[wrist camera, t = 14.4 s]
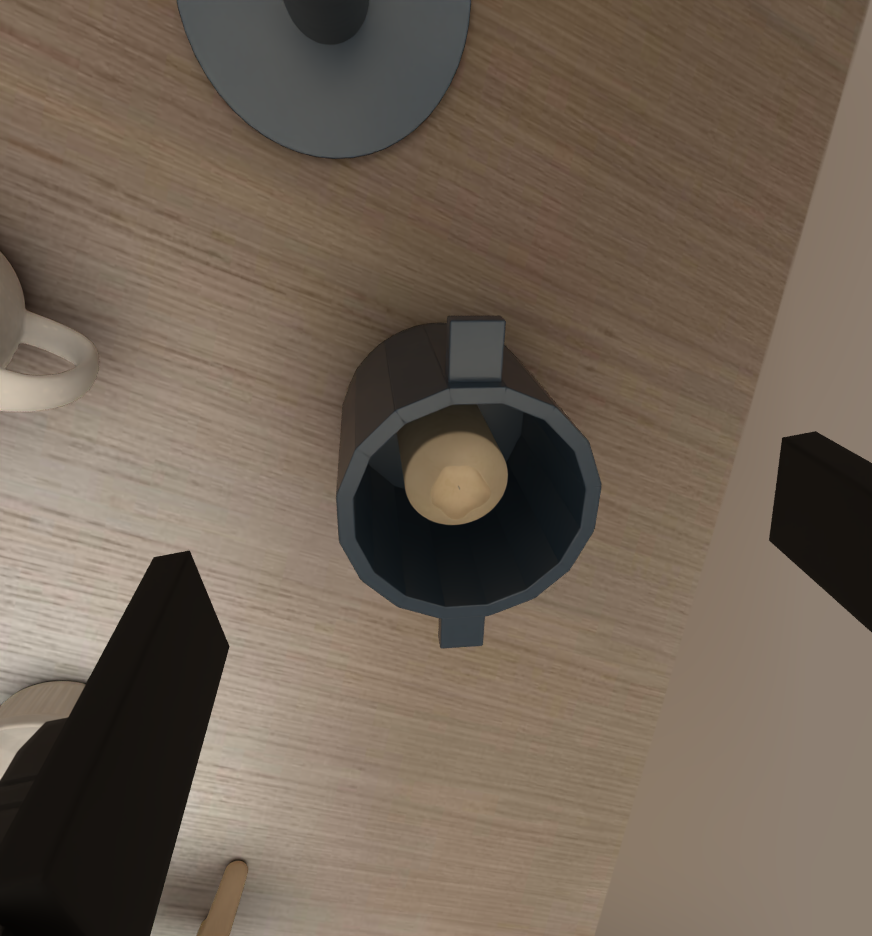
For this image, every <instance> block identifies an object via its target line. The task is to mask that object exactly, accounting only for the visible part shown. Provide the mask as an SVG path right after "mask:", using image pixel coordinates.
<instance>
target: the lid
mask: <svg viewBox="0 0 872 936" xmlns="http://www.w3.org/2000/svg"><path fill="white" fill-rule="evenodd" d="M177 4H178V9H179V13H180V16H181V19H182V23H183V26H184V29H185V33H186V35H187V37H188V40H189V42H190V45H191V47H192V49H193V52H194V54H195V56H196V58H197V60H198V62H199V63H200V65H201V67H202V69H203V71H204V73H205V74H206V76H207V78H208V79H209V80H210V82H211V83H212V85H213V86H214V88H215V89H216V90H217V92H218V93H219V95H220V96H221V97H222V98H223V99H224V100H225V102H226V103H227V104H228V105H229V106H230V107H231V108H232V110H233V111H234V112H235V113H237V114H238V115H239V116H240V117H241V118H242V119H243V120H244V121H245V122H246V123H247V124H248V125H250V126H251V127H253V128H254V129H255V130H257V131H258V132H259V133H261V134H262V135H264V136H265V137H267V138H269V139H270V140H272V141H274V142H276V143H278V144H280V145H281V146H284V147H286V148H289V149H291V150H294V151H296V152H299V153H302V154H307V155H311V156H315V157H321V158H331V159H343V158H355V157H360V156H365V155H369V154H372V153H375V152H378V151H381V150H383V149H386V148H388V147H389V146H391V145H393V144H395V143H397V142H399V141H400V140H402V139H403V138H404V137H406V136H407V135H409V134H410V133H411V132H413V131H414V130H415V129H416V128H417V127H418V126H419V125H420V124H421V123H422V122H423V121H424V120H425V119H426V118H427V117H428V116H429V115H430V114H431V113H432V111H433V110H434V109H435V107H436V106H437V105H438V104H439V102H440V101H441V99H442V97H443V96H444V94H445V92H446V91H447V89H448V87H449V86H450V84H451V82H452V79H453V77H454V75H455V73H456V70H457V68H458V66H459V62H460V59H461V56H462V53H463V50H464V47H465V42H466V37H467V32H468V27H469V18H470V7H471V0H177Z"/></svg>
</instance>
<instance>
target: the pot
mask: <svg viewBox="0 0 872 936" xmlns="http://www.w3.org/2000/svg"><path fill="white" fill-rule="evenodd" d="M505 325H506V321H505V320H504V319H503V318H502V317H501V316H448V317H447V323H430V324H424V325H419V326H415V327H412V328H409V329H406V330H403V331H401V332H399V333H397V334H395V335H393V336H391V337H390V338H388V339H387V340H385V341H384V342H382V343H381V344H380V345H378V346H377V347H376V348H375V349H374V350H373V351H372V352H371V353H370V354H369V355H368V356H367V357H366V358H365V359H364V361H363V362H362V363H361V365H360V366H359V367H358V368H357V370H356V371H355V374H354V376H353V378H352V380H351V383H350V385H349V388H348V391H347V394H346V397H345V400H344V402H343V407H342V421H341V435H340V449H339V463H338V477H337V491H336V503H337V519H338V535H339V543H340V545H341V546H342V548H343V550H344V552H345V553H346V555H347V557H348V559H349V560H350V562H351V564H352V565H353V567H354V569H355V571H356V572H357V574H358V576H359V578H360V579H361V580H362V581H363V582H364V583H365V584H367V585H368V586H369V587H371V588H372V589H374V590H375V591H376V592H378V593H379V594H380V595H382V596H383V597H385V598H386V599H387V600H389V601H390V602H391V603H393V604H394V605H396V606H398V607H399V608H403V609H407V610H410V611H414V612H418V613H422V614H425V615H429V616H433V617H436V618H439V631H438V638H439V643H440V648H456V647H470V646H482V645H483V635H484V621H485V616H489V615H493V614H495V613H498V612H500V611H503V610H506V609H508V608H511V607H513V606H516V605H519V604H521V603H524V602H526V601H529V600H532V599H533V598H536V597H537V596H538V595H539V594H541V593H542V592H543V591H544V590H546V589H547V588H548V587H549V586H550V585H552V584H553V583H554V582H555V581H557V580H558V579H559V578H560V577H562V576H563V575H564V574H565V573H567V572H568V571H569V570H570V568H571V567H572V566H573V564H574V562H575V561H576V559H577V558H578V556H579V554H580V553H581V551H582V549H583V548H584V546H585V545H586V543H587V541H588V540H589V538H590V536H591V535H592V533H593V532H594V529H595V523H596V517H597V511H598V505H599V499H600V492H601V481H600V477H599V474H598V470H597V467H596V464H595V460H594V457H593V453H592V450H591V447H590V443H589V441H588V440H587V439H586V437H585V436H584V435H583V434H582V433H581V432H580V430H579V429H578V428H577V427H576V426H575V425H574V423H573V422H572V421H571V420H570V419H569V418H568V416H567V415H566V414H565V413H564V412H563V411H562V409H561V408H560V407H559V406H558V405H557V404H556V402H555V401H554V400H553V399H552V398H551V397H550V395H549V394H548V393H547V392H546V391H545V390H544V388H543V387H542V386H541V385H540V384H539V383H538V381H537V380H536V379H535V378H534V377H533V376H532V374H531V373H530V372H529V371H528V370H527V369H526V367H525V366H524V365H523V364H522V363H521V362H520V361H519V360H518V359H517V358H516V357H515V356H514V354H513V353H512V352H511V351H510V350H509V349H508V348H507V347H506V346H505V345H504V339H505ZM472 404H477V406H478V408H479V410H480V412H481V414H482V416H483V418H484V420H485V421H486V423H487V425H488V427H489V429H490V431H491V433H492V435H493V437H494V439H495V441H496V443H497V445H498V447H499V449H500V451H501V453H502V455H503V457H504V459H505V462H506V465H507V471H508V480H507V485H506V489H505V491H504V494H503V496H502V498H501V499H500V501H499V502H498V504H497V505H496V506H495V507H494V508H493V509H492V510H491V511H490V512H488V513H487V514H486V515H484V516H483V517H481V518H479V519H477V520H474V521H472V522H469V523H465V524H459V525H445V524H440V523H436V522H433V521H431V520H429V519H427V518H425V517H423V516H422V515H421V514H420V513H418V512H417V511H416V510H415V509H414V507H413V506H412V505H411V503H410V501H409V499H408V497H407V494H406V491H405V485H404V478H403V471H402V464H401V457H400V451H399V444H398V437H397V432H398V431H399V430H400V429H401V428H402V427H403V426H404V425H405V424H407V423H409V422H412V421H414V420H417V419H419V418H421V417H424V416H426V415H429V414H431V413H434V412H436V411H438V410H441V409H443V408H446V407H448V406H451V405H472Z"/></svg>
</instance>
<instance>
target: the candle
mask: <svg viewBox="0 0 872 936" xmlns="http://www.w3.org/2000/svg"><path fill="white" fill-rule="evenodd" d="M397 437H398V444H399V451H400V457H401V464H402V471H403V478H404V485H405V491H406V494H407V497H408V499H409V501H410V503H411V505H412V506H413V507H414V509H415V510H416V511H417V512H418V513H420V514H421V515H422V516H423V517H425V518H427V519H429V520H431V521H433V522H436V523H440V524H445V525H459V524H465V523H469V522H472V521H474V520H477V519H479V518H481V517H483V516H484V515H486V514H487V513H488V512H490V511H491V510H492V509H493V508H494V507H495V506H496V505H497V504H498V502H499V501H500V499H501V498H502V496H503V494H504V491H505V489H506V485H507V480H508V471H507V465H506V462H505V459H504V457H503V455H502V453H501V451H500V449H499V447H498V445H497V443H496V441H495V439H494V437H493V435H492V433H491V431H490V429H489V427H488V425H487V423H486V421H485V420H484V418H483V416H482V414H481V412H480V410H479V408H478V406H477V404H472V405H451V406H448V407H446V408H443V409H441V410H438V411H436V412H434V413H431V414H429V415H426V416H424V417H421V418H419V419H417V420H414V421H412V422H409V423H407V424H405V425H404V426H403V427H402V428H401V429H400V430H399V431H398V432H397Z"/></svg>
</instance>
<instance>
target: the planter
mask: <svg viewBox="0 0 872 936" xmlns="http://www.w3.org/2000/svg"><path fill="white" fill-rule="evenodd" d="M247 873H248V867H247V865H246V864H245V863H244V862H242V861H234V862H232V863H230V864H229V865H228V866H227V867H226V870H225V872H224V875H223V877H222V880H221V883H220V885H219V888H218V890H217V893H216V896H215V898H214V901H213V903H212V906H211V909H210V911H209V914H208V916H207V919H205V920H204V921H203V922H202V923H201V925H200V928H199V931H198V933H197V936H229V935H230V932H231V928H232V925H233V922H234V918H235V915H236V912H237V908H238V905H239V902H240V898H241V895H242V892H243V888H244V885H245V881H246V877H247Z"/></svg>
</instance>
